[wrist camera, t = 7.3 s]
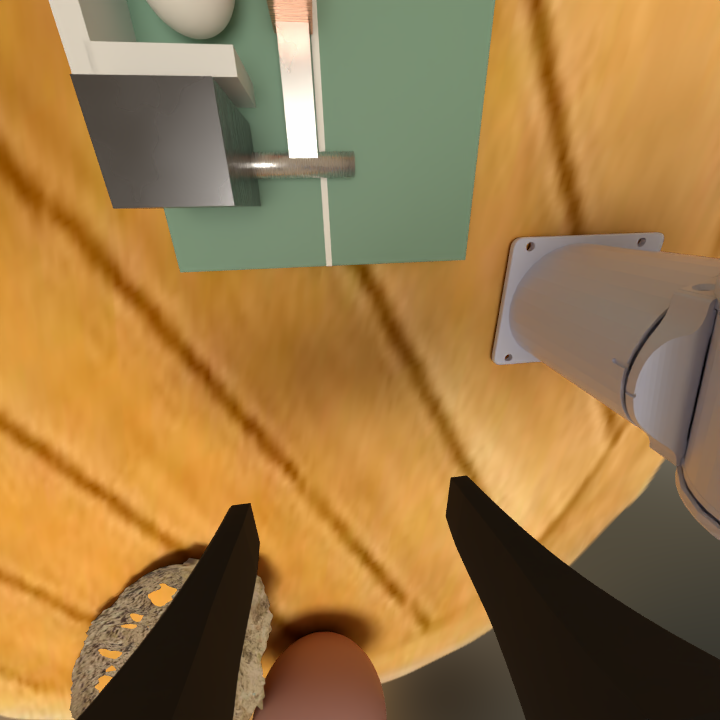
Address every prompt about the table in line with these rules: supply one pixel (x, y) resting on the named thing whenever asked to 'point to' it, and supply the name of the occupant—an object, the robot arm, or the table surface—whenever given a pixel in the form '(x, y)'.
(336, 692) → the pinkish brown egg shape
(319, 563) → the table surface
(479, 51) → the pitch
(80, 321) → the table surface
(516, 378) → the table surface
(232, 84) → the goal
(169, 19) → the ball
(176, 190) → the knob lever
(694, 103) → the table surface
